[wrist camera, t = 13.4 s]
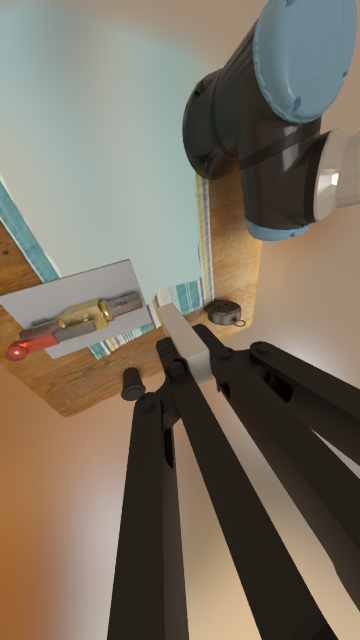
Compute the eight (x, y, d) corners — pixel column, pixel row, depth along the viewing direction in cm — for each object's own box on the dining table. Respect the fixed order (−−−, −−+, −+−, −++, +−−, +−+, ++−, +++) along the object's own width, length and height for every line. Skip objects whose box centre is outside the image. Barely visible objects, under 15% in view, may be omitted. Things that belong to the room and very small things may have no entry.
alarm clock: (201, 313, 59) (227, 338, 46) (201, 300, 56) (228, 322, 43) (225, 306, 62) (256, 328, 49) (227, 294, 59) (260, 313, 46)
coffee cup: (131, 383, 63) (134, 405, 55) (114, 376, 58) (115, 399, 50) (145, 369, 63) (151, 390, 55) (130, 361, 58) (133, 383, 50)
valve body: (23, 321, 38) (10, 334, 33) (135, 285, 44) (138, 292, 39) (41, 340, 42) (32, 355, 37) (142, 305, 48) (146, 314, 43)
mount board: (-2, 295, 35) (-6, 297, 34) (129, 258, 42) (129, 259, 40) (54, 355, 47) (53, 359, 45) (151, 320, 53) (152, 322, 52)
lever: (92, 315, 38) (90, 325, 34) (98, 325, 40) (96, 335, 36) (13, 338, 34) (0, 352, 30) (22, 348, 36) (12, 363, 32)
